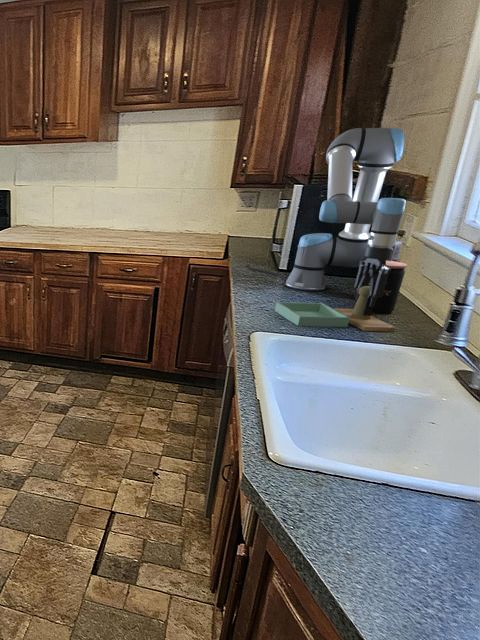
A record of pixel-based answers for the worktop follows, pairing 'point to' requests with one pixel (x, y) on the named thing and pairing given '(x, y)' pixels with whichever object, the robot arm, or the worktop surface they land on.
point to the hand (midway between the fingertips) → (362, 312)
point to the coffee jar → (390, 288)
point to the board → (366, 322)
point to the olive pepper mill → (361, 304)
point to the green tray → (311, 314)
